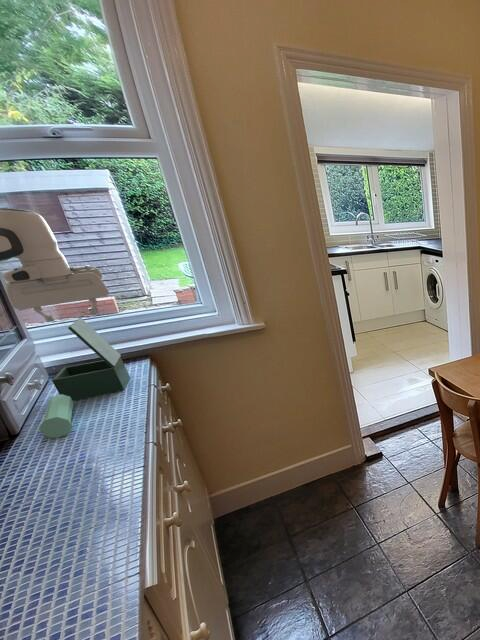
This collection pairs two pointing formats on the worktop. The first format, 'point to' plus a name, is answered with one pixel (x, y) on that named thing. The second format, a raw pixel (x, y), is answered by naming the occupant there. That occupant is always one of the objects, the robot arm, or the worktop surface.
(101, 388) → the case
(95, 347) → the case lid
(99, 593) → the worktop surface
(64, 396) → the light green cylinder
